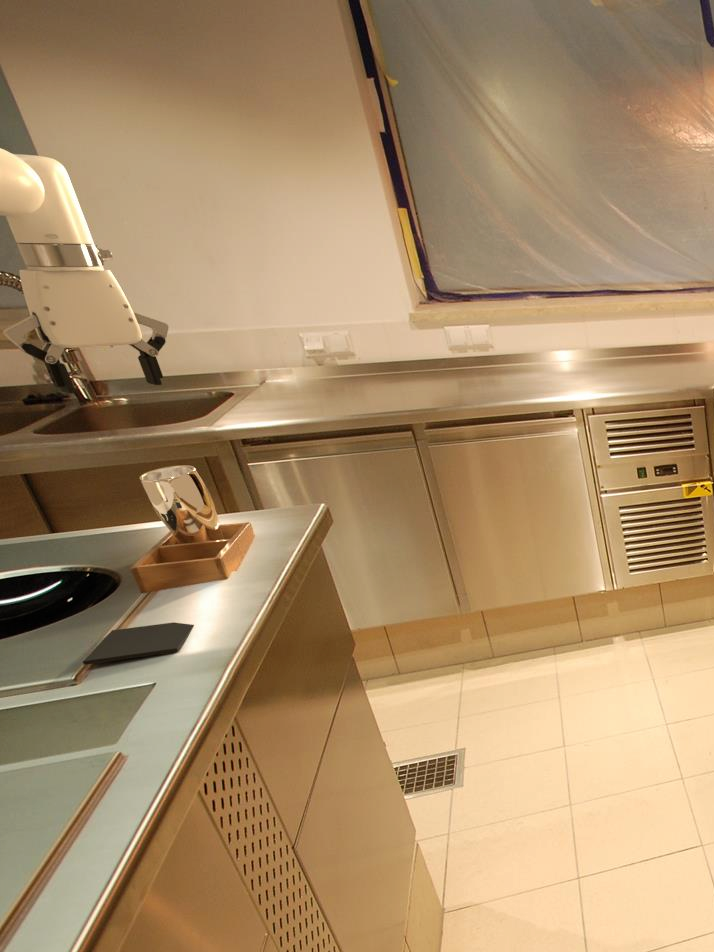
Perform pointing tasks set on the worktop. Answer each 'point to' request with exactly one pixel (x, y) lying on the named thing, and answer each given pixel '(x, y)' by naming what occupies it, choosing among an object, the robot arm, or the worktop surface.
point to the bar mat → (140, 642)
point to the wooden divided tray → (192, 559)
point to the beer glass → (183, 503)
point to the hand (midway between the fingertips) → (113, 388)
